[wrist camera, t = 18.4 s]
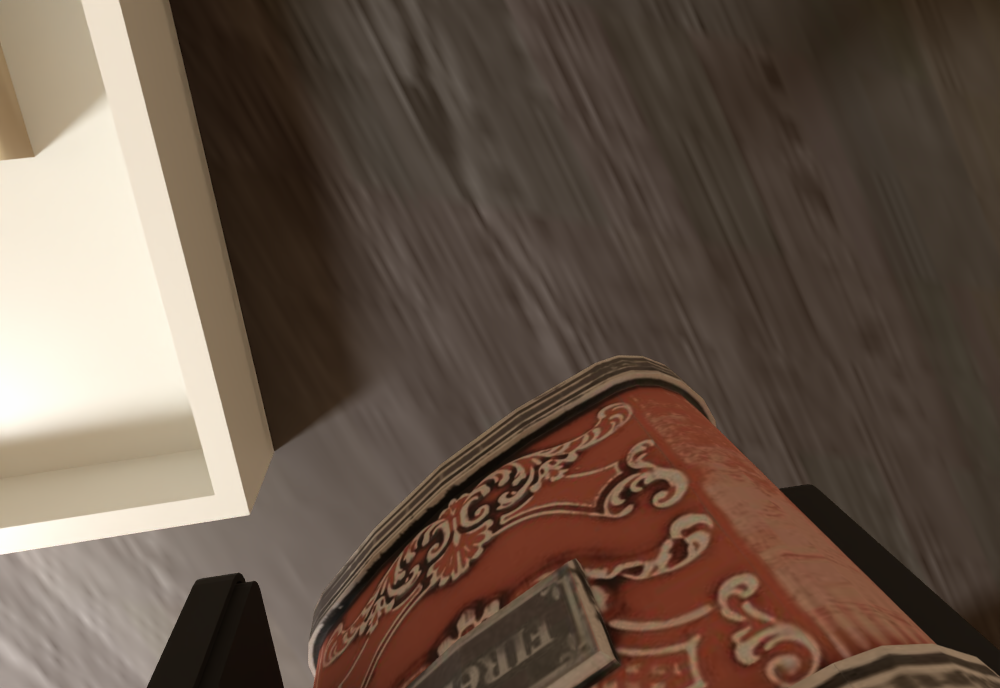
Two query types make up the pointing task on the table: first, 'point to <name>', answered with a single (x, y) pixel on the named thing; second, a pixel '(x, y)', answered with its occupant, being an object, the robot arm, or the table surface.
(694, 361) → the table surface
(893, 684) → the lighter
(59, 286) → the tote
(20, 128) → the cube
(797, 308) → the table surface
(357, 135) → the table surface
